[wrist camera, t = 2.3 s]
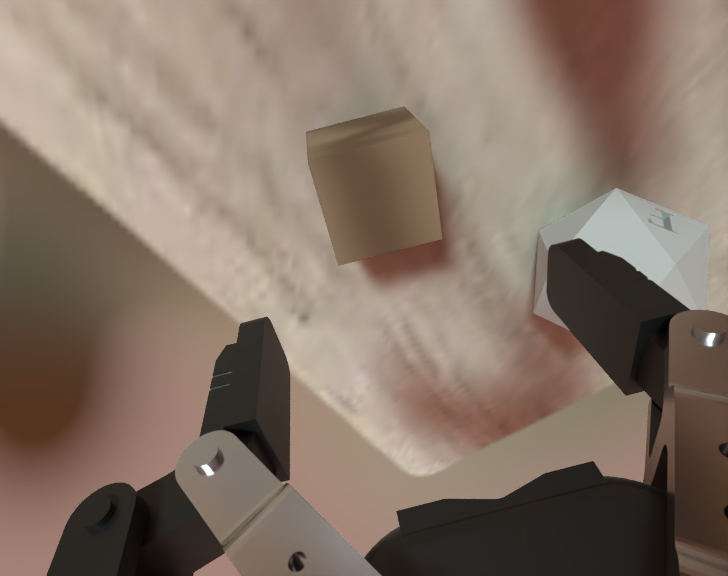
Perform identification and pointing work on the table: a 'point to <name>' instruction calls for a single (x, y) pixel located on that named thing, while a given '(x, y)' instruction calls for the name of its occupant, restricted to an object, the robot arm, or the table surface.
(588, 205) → the die
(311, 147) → the walnut cube
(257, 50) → the table surface
